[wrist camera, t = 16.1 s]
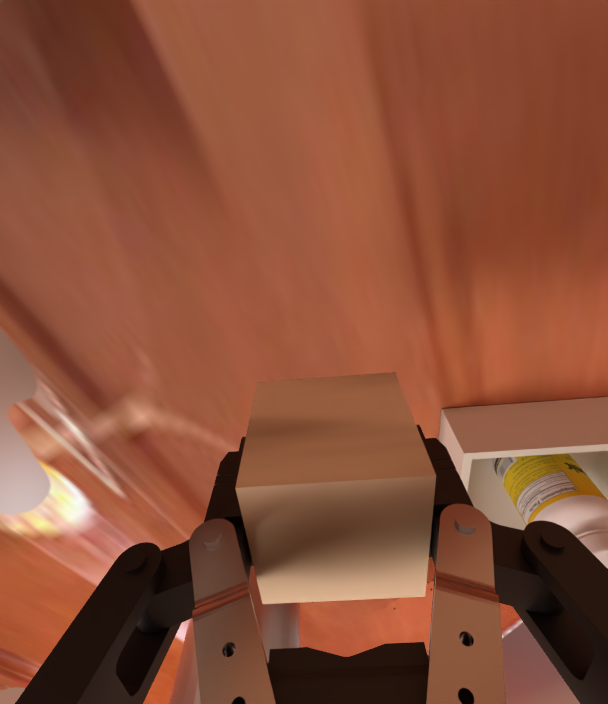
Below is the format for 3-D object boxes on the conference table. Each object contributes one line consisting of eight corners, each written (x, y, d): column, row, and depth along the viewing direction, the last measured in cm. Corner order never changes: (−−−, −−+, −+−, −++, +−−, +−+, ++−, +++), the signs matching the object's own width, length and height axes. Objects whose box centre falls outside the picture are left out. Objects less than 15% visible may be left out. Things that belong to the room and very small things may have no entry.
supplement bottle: (567, 463, 32) (661, 581, 24) (502, 487, 34) (569, 607, 25) (549, 418, 30) (646, 531, 21) (481, 446, 31) (546, 562, 23)
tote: (564, 539, 38) (598, 591, 34) (429, 546, 39) (444, 598, 35) (614, 396, 30) (667, 440, 26) (441, 408, 31) (463, 453, 26)
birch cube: (392, 474, 16) (425, 596, 12) (274, 482, 17) (262, 603, 12) (394, 372, 14) (436, 475, 10) (257, 382, 14) (235, 488, 10)
